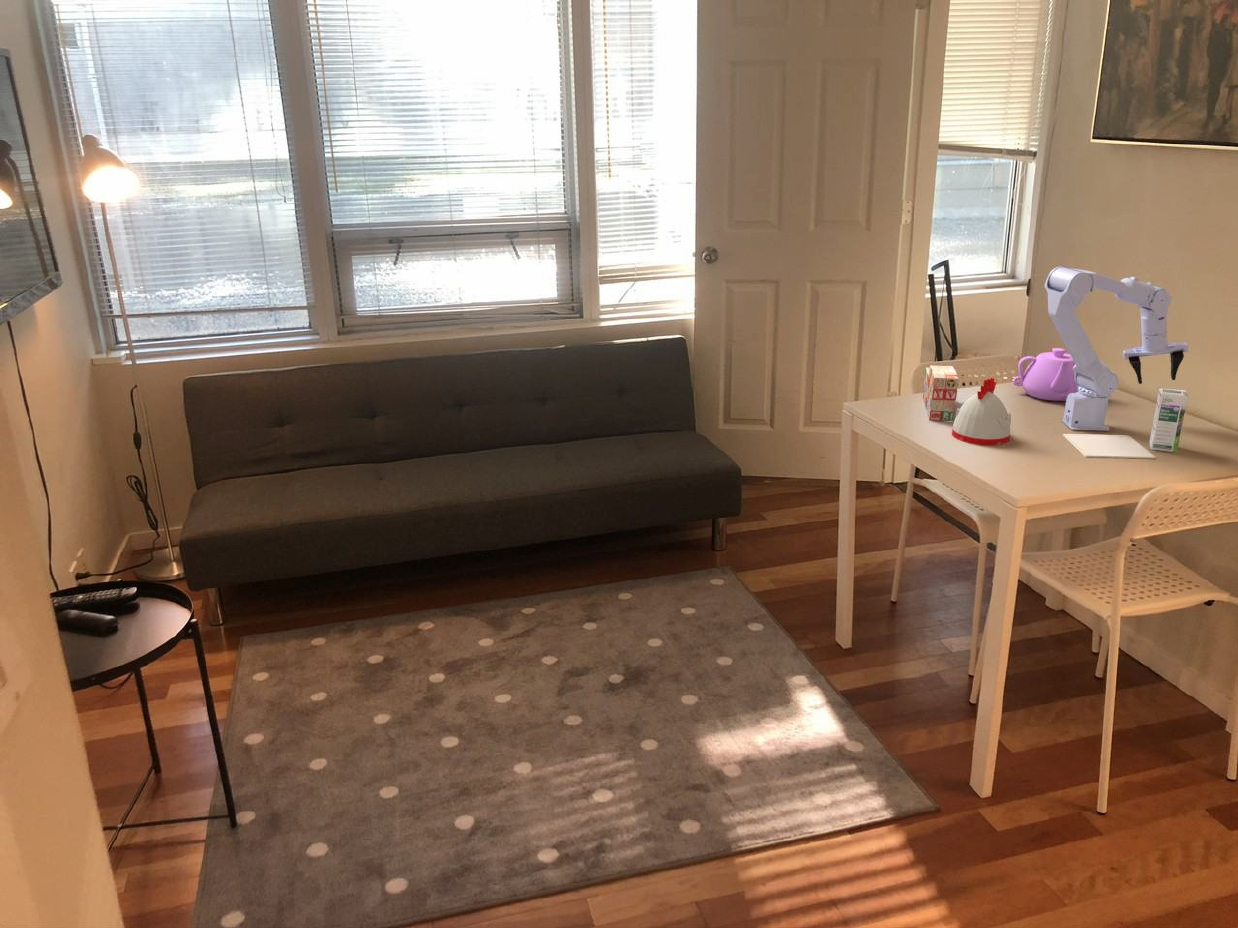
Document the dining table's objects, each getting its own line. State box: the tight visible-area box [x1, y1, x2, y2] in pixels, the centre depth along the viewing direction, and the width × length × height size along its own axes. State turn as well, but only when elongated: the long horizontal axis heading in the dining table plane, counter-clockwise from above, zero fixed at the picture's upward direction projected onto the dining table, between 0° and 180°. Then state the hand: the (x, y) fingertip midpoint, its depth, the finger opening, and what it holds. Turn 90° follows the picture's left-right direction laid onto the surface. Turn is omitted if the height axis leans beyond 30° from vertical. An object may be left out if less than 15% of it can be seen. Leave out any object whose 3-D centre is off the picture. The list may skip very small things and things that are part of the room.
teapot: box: [1012, 347, 1079, 402], centre depth 276 cm, size 22×22×14 cm
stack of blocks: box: [922, 364, 960, 422], centre depth 267 cm, size 21×6×12 cm, turn 169°
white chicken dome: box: [951, 377, 1012, 446], centre depth 245 cm, size 14×14×15 cm
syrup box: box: [1148, 387, 1189, 453], centre depth 236 cm, size 6×6×14 cm
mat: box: [1062, 433, 1156, 460], centre depth 240 cm, size 16×16×1 cm
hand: (1156, 380), depth 254 cm, fingers open, 7 cm apart
